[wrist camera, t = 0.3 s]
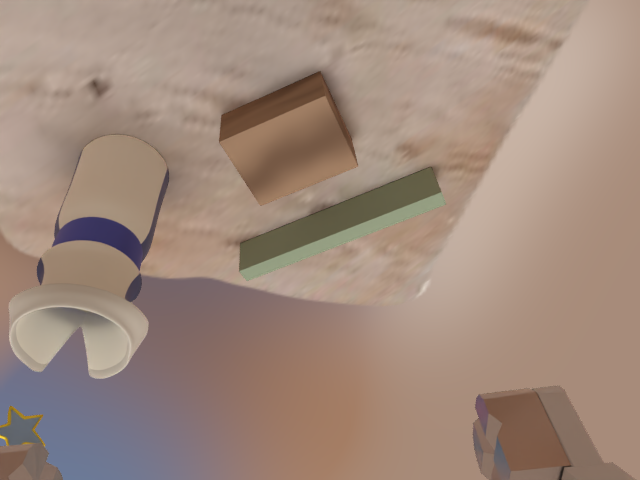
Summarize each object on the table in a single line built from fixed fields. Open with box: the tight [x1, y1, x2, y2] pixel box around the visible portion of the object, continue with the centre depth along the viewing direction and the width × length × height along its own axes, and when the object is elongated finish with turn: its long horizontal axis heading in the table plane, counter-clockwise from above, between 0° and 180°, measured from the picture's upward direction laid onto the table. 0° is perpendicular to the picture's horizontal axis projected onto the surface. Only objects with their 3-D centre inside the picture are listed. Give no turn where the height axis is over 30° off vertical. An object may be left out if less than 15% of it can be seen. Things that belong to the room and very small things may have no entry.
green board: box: [239, 167, 446, 281], centre depth 53 cm, size 2×20×4 cm, turn 114°
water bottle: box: [0, 135, 169, 446], centre depth 41 cm, size 8×9×25 cm
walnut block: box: [219, 71, 358, 206], centre depth 47 cm, size 7×9×4 cm
